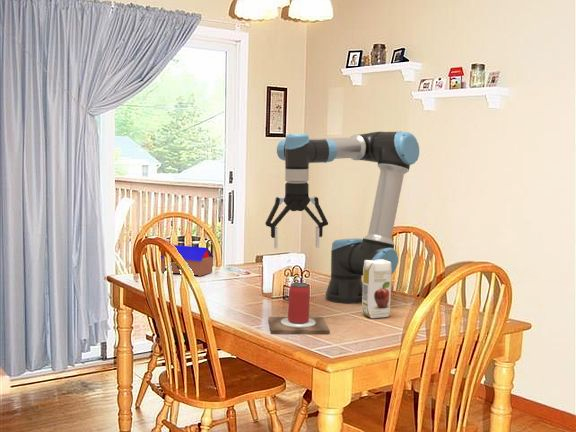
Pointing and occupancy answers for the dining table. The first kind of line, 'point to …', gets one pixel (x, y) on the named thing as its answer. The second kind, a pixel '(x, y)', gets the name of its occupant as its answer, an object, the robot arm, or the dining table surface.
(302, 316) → the beer can
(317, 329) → the walnut board
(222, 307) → the dining table surface
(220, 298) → the dining table surface
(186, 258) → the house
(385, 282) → the juice carton
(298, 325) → the ceramic disc
